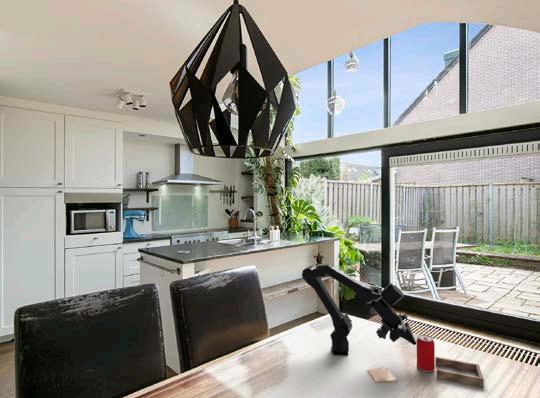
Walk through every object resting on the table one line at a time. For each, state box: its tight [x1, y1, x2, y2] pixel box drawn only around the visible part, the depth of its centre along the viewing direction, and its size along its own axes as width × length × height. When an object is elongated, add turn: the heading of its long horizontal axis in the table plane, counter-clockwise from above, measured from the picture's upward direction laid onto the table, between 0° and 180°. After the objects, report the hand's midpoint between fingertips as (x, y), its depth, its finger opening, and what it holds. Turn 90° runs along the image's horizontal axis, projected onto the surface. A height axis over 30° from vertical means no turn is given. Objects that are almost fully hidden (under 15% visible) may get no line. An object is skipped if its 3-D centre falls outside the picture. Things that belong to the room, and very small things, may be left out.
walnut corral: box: [435, 356, 485, 389], centre depth 120 cm, size 14×11×3 cm
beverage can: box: [416, 334, 436, 373], centre depth 125 cm, size 6×6×12 cm
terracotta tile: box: [367, 368, 399, 384], centre depth 120 cm, size 8×8×1 cm
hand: (415, 344), depth 126 cm, fingers closed
